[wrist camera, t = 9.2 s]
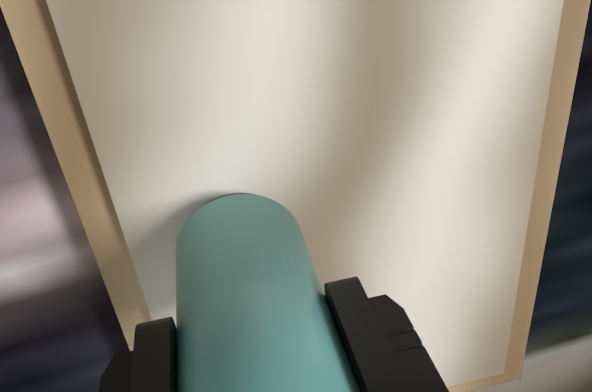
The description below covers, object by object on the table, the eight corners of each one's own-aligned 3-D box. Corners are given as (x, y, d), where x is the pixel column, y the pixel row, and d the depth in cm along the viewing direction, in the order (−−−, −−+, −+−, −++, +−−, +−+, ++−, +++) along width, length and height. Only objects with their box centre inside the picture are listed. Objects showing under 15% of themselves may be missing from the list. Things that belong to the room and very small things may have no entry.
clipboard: (613, -260, 12) (675, -281, 10) (509, 363, 22) (533, 396, 21) (-62, -198, 10) (-102, -213, 8) (172, 444, 20) (172, 487, 19)
